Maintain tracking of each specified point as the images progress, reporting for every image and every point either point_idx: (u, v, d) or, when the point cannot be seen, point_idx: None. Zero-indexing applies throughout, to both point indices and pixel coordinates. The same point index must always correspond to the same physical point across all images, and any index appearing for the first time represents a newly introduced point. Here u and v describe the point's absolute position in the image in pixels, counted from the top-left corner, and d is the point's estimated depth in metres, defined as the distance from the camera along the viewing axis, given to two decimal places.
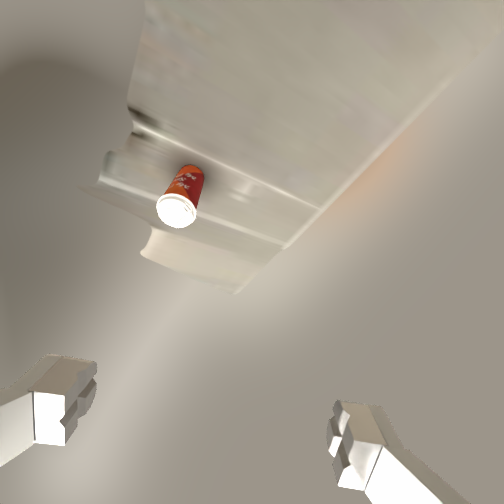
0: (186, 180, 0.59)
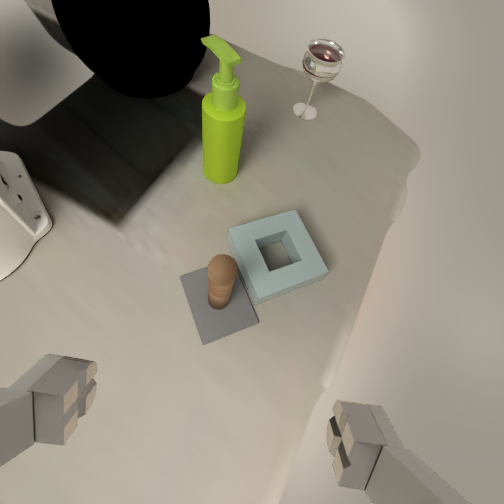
0: None
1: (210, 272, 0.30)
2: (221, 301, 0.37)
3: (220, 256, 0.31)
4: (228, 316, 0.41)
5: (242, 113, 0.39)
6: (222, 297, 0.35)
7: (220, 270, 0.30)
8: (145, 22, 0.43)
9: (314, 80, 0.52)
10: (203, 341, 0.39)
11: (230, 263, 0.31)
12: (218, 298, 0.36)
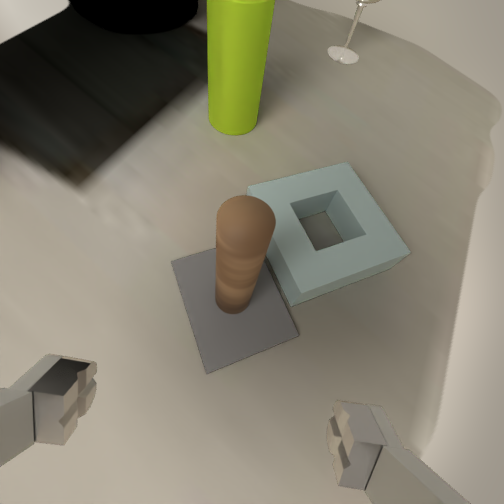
0: None
1: (221, 227, 0.15)
2: (239, 297, 0.21)
3: (241, 199, 0.15)
4: (249, 325, 0.25)
5: None
6: (241, 288, 0.20)
7: (241, 224, 0.15)
8: None
9: None
10: (207, 367, 0.23)
11: (261, 212, 0.15)
12: (234, 290, 0.20)
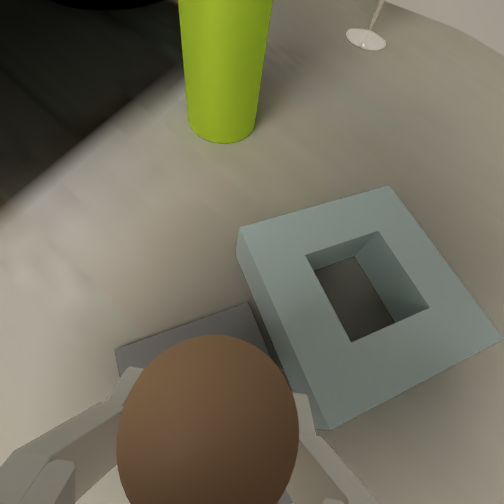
0: None
1: (127, 470, 0.05)
2: None
3: (199, 348, 0.06)
4: None
5: None
6: None
7: (195, 449, 0.05)
8: None
9: None
10: None
11: (257, 392, 0.05)
12: None
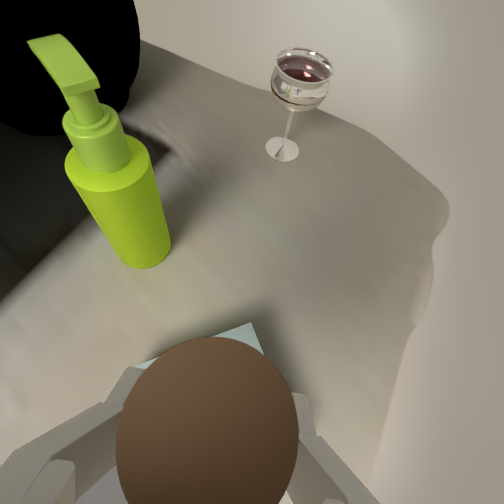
0: None
1: (126, 472, 0.05)
2: None
3: (199, 350, 0.06)
4: None
5: (138, 175, 0.22)
6: None
7: (194, 451, 0.05)
8: None
9: (288, 109, 0.35)
10: None
11: (256, 394, 0.05)
12: None
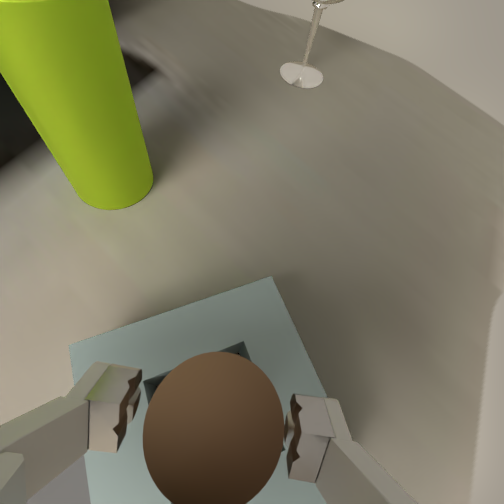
0: None
1: (151, 458, 0.06)
2: None
3: (206, 362, 0.07)
4: None
5: None
6: None
7: (203, 442, 0.06)
8: None
9: None
10: None
11: (251, 398, 0.07)
12: None
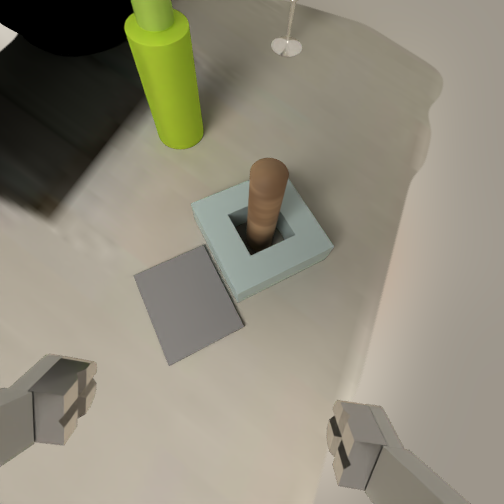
0: None
1: (254, 180, 0.23)
2: (265, 234, 0.29)
3: (264, 160, 0.23)
4: (202, 322, 0.30)
5: (183, 33, 0.27)
6: (268, 225, 0.28)
7: (267, 177, 0.23)
8: None
9: None
10: (169, 361, 0.28)
11: (278, 167, 0.23)
12: (262, 228, 0.28)
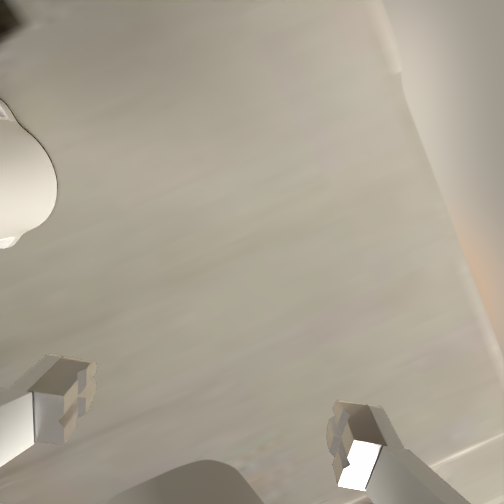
0: None
1: None
2: None
3: None
4: None
5: None
6: None
7: None
8: None
9: None
10: None
11: None
12: None
